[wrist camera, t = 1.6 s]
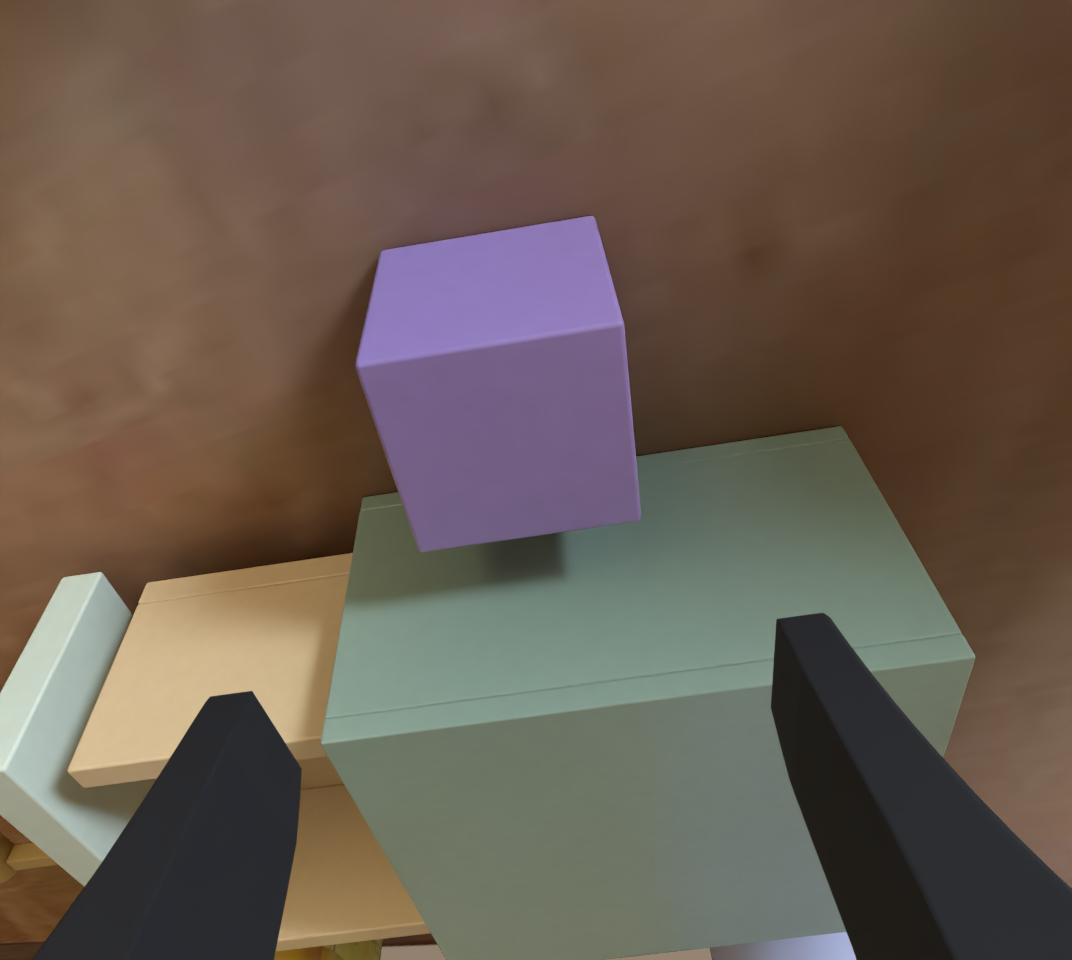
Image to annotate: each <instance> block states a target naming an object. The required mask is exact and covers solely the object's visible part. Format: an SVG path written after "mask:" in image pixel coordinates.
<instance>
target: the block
mask: <svg viewBox="0 0 1072 960" xmlns="http://www.w3.org/2000/svg"><path fill="white" fill-rule="evenodd" d="M355 368H356V371H357V374H358V377H359V380H360V383H361V386H362V388H363V391H364V394H365V397H366V400H367V403H368V406H369V409H370V412H371V415H372V417H373V420H374V423H375V426H376V429H377V432H378V435H379V438H380V441H381V443H382V446H383V449H384V452H385V455H386V458H387V461H388V464H389V467H390V470H391V472H392V475H393V478H394V481H395V484H396V487H397V490H398V493H399V496H400V498H401V501H402V504H403V507H404V510H405V513H406V516H407V519H408V522H409V525H410V527H411V530H412V533H413V536H414V539H415V542H416V545H417V548H418V550H419V551H420V552H429V551H436V550H442V549H449V548H456V547H463V546H470V545H477V544H484V543H491V542H498V541H505V540H512V539H518V538H525V537H532V536H539V535H546V534H553V533H560V532H567V531H574V530H581V529H588V528H595V527H601V526H608V525H615V524H622V523H629V522H636V521H639V520H640V519H641V506H640V495H639V484H638V473H637V462H636V450H635V439H634V428H633V417H632V406H631V395H630V383H629V372H628V361H627V350H626V339H625V328H624V322H623V318H622V314H621V311H620V307H619V303H618V300H617V296H616V292H615V289H614V285H613V281H612V278H611V274H610V270H609V267H608V263H607V259H606V256H605V252H604V249H603V245H602V241H601V238H600V234H599V230H598V227H597V223H596V219H595V218H594V216H587V217H581V218H575V219H569V220H563V221H557V222H551V223H545V224H539V225H533V226H527V227H521V228H515V229H509V230H503V231H497V232H491V233H485V234H479V235H473V236H466V237H460V238H454V239H448V240H442V241H436V242H430V243H424V244H418V245H412V246H406V247H400V248H394V249H388V250H383V251H381V252H380V255H379V260H378V264H377V269H376V273H375V278H374V282H373V287H372V291H371V296H370V300H369V305H368V309H367V314H366V318H365V323H364V327H363V332H362V336H361V341H360V345H359V350H358V354H357V358H356V363H355Z"/></svg>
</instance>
